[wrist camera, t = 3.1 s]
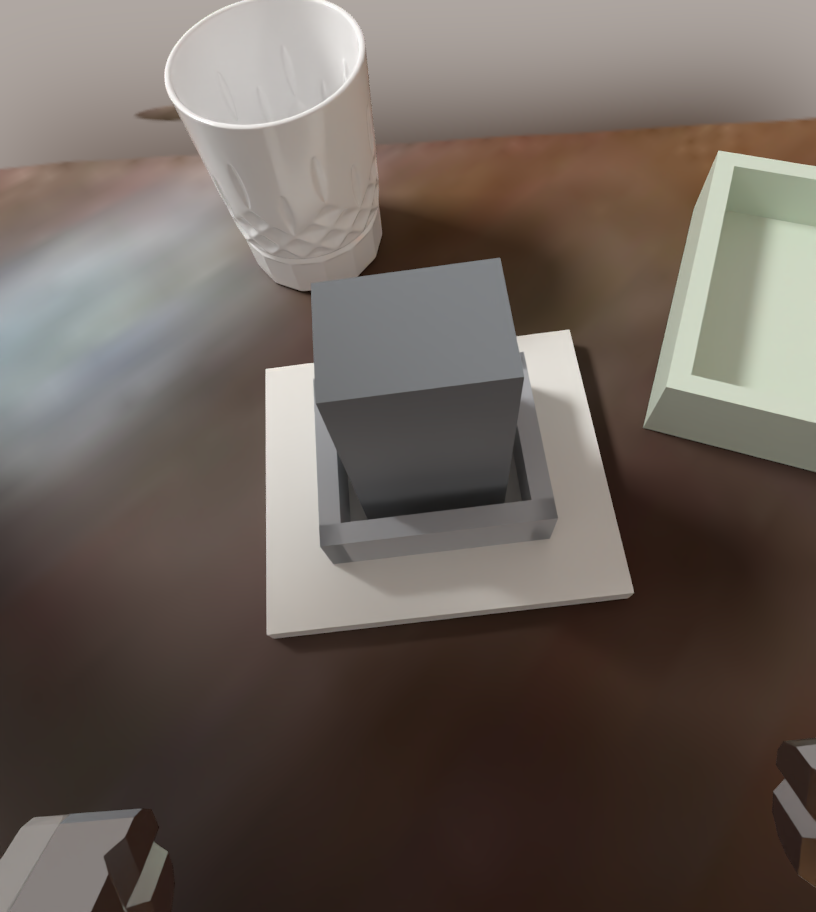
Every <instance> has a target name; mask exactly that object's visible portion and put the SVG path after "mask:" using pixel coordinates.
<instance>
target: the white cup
mask: <svg viewBox="0 0 816 912" xmlns="http://www.w3.org/2000/svg"><path fill="white" fill-rule="evenodd" d="M164 77H165V78H164V80H165V86H166V90H167V93H168V95H169V97H170V99H171V101H172V103H173V105H174V107H175V109H176V111H177V112H178V114H179V116H180V118H181V120H182V122H183V124H184V126H185V128H186V130H187V132H188V134H189V136H190V138H191V139H192V142H193V143H194V145H195V147H196V149H197V151H198V153H199V155H200V157H201V159H202V161H203V163H204V165H205V167H206V169H207V171H208V173H209V175H210V177H211V179H212V181H213V183H214V185H215V187H216V189H217V190H218V192H219V194H220V196H221V198H222V199H223V201H224V203H225V204H226V206H227V208H228V209H229V212H230V214H231V216H232V218H233V220H234V221H235V223H236V225H237V226H238V228H239V230H240V231H241V233H242V234H243V236H244V237H245V238H246V240H247V242H248V244H249V246H250V248H251V251H252V253H253V255H254V257H255V259H256V261H257V263H258V264H259V266H260V267H261V268H262V269H263V270H264V271H265V272H266V273H267V274H268V275H269V276H270V277H271V278H272V279H273V280H274V281H275V282H276V283H278V284H281V285H284V286H287V287H290V288H293V289H296V290H299V291H311V283H316V282H324V281H331V280H338V279H346V278H353V277H358V276H359V275H360V274H361V272H362V271H363V270H364V269H365V268H366V267H367V266H368V265H369V264H370V263H371V262H372V261H373V260H374V259H375V257H376V255H377V251H378V248H379V244H380V241H381V237H382V226H381V218H380V209H379V201H378V198H379V179H378V169H377V152H376V142H375V133H374V123H373V114H372V104H371V95H370V87H369V86H370V85H369V75H368V66H367V56H366V45H365V38H364V35H363V32H362V30H361V28H360V26H359V24H358V23H357V21H356V20H355V19H354V18H353V17H352V16H351V15H350V14H349V13H348V12H347V11H345V10H344V9H342V8H341V7H339V6H337V5H335V4H333V3H331V2H329V1H326V0H243V1H239V2H236V3H233V4H231V5H228V6H226V7H224V8H221V9H219V10H217V11H215V12H213V13H212V14H210V15H208V16H206V17H205V18H203V19H202V20H201V21H199V22H198V23H196V24H195V25H194V26H193V27H191V28H190V29H189V30H188V31H187V32H186V33H185V34H184V35H183V36H182V37H181V38H180V40H179V41H178V42H177V43H176V45H175V46H174V48H173V49H172V51H171V53H170V55H169V57H168V60H167V63H166V67H165V73H164Z"/></svg>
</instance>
